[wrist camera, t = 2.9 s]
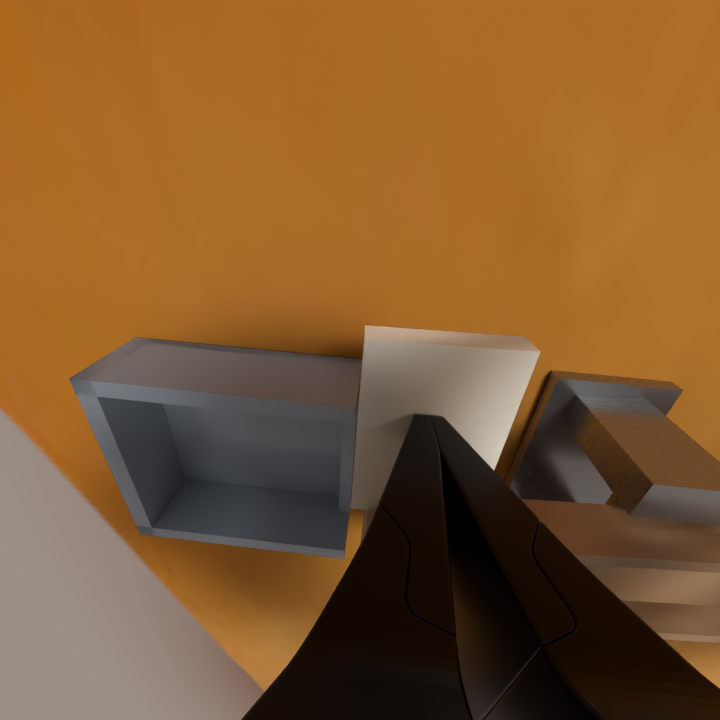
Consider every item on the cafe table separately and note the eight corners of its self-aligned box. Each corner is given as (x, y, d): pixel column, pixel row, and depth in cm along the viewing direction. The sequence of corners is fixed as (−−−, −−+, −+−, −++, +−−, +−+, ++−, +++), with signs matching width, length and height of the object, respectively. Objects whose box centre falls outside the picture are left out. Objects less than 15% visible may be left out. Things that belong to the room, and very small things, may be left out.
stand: (858, 400, 13) (1098, 513, 9) (712, 541, 18) (817, 660, 14) (377, 354, 14) (371, 437, 10) (361, 502, 19) (353, 602, 15)
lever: (1086, 360, 9) (1584, 488, 5) (797, 572, 15) (944, 707, 11) (365, 309, 9) (362, 405, 5) (347, 543, 14) (339, 671, 11)
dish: (362, 359, 14) (355, 408, 11) (351, 497, 19) (344, 559, 16) (135, 337, 15) (69, 378, 12) (179, 478, 19) (140, 534, 16)
